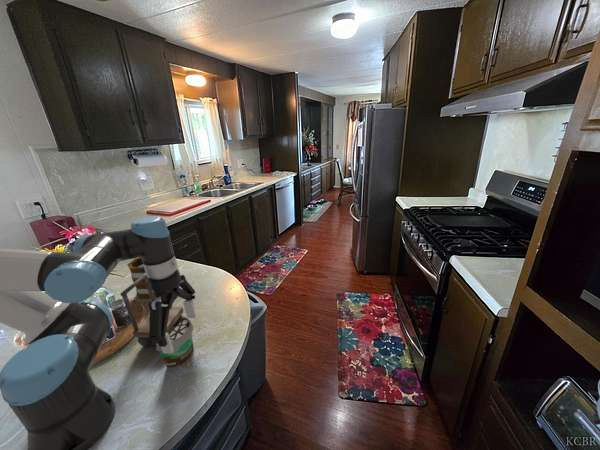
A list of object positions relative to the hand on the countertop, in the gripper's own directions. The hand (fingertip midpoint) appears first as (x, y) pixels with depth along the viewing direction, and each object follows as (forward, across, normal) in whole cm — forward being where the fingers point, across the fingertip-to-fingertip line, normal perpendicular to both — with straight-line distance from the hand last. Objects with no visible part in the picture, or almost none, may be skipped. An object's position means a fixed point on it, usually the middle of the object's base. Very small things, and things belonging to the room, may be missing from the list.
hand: (181, 333), depth 73 cm
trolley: (+9, +8, +12) cm, 17 cm away
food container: (+9, 0, 0) cm, 9 cm away
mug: (+9, +37, +34) cm, 51 cm away
